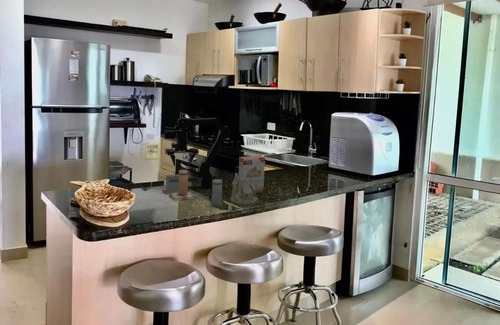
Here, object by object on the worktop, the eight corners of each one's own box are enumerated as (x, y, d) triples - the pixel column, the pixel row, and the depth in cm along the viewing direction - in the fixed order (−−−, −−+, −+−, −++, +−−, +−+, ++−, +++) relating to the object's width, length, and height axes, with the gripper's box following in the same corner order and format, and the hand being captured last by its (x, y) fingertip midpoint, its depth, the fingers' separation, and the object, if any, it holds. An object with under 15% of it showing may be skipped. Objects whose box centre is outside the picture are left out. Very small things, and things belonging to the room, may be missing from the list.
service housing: (181, 190, 260) (181, 173, 258) (185, 192, 254) (185, 176, 252) (162, 191, 255) (162, 174, 253) (166, 194, 249) (166, 177, 247)
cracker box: (242, 195, 254) (243, 158, 250) (237, 192, 259) (238, 156, 256) (264, 193, 260) (265, 157, 257) (259, 190, 266) (260, 155, 262)
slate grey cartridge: (219, 203, 233) (220, 178, 231) (223, 206, 229) (223, 180, 227) (210, 204, 231) (211, 179, 229) (214, 206, 227) (214, 181, 225)
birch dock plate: (190, 194, 251) (190, 191, 251) (196, 198, 241) (197, 195, 241) (169, 195, 246) (169, 193, 245) (175, 200, 236) (175, 197, 236)
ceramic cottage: (238, 205, 231) (240, 176, 230) (226, 198, 246) (227, 171, 244) (265, 204, 238) (267, 176, 236) (251, 198, 253) (253, 172, 251)
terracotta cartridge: (187, 193, 246) (187, 169, 244) (187, 195, 241) (188, 171, 239) (178, 193, 245) (178, 169, 243) (178, 195, 240) (178, 171, 238)
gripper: (192, 137, 273) (192, 163, 276) (162, 138, 265) (162, 164, 268) (199, 139, 264) (198, 166, 266) (168, 140, 255) (168, 167, 258)
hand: (182, 165), depth 265 cm, fingers open, 9 cm apart
